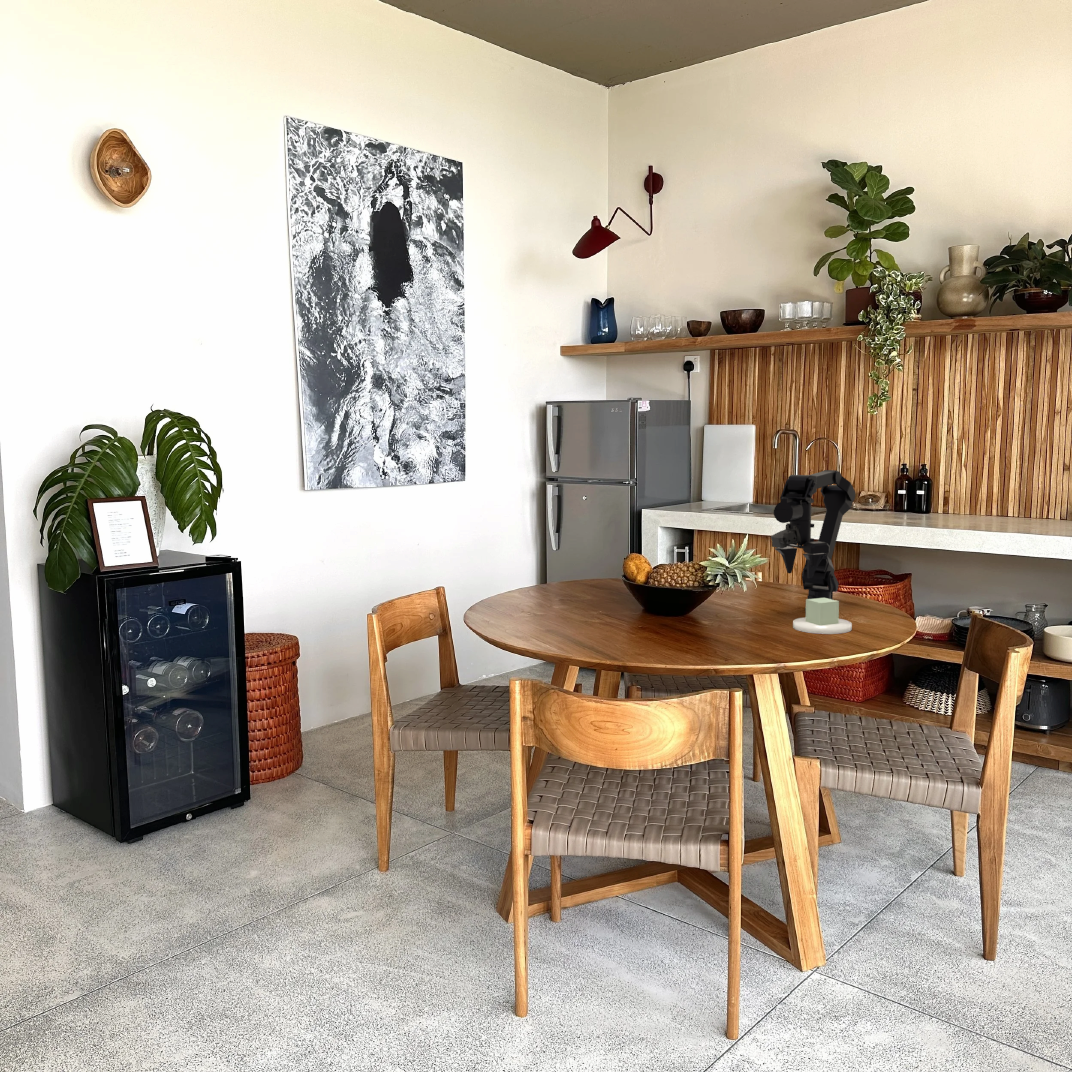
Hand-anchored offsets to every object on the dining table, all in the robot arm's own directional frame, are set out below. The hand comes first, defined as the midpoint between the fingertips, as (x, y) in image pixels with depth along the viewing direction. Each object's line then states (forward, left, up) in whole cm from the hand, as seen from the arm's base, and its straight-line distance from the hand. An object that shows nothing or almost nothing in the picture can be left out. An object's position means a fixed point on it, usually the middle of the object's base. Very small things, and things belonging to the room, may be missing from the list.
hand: (799, 575), depth 272 cm
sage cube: (+3, +14, -10) cm, 18 cm away
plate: (+3, +14, -12) cm, 19 cm away
